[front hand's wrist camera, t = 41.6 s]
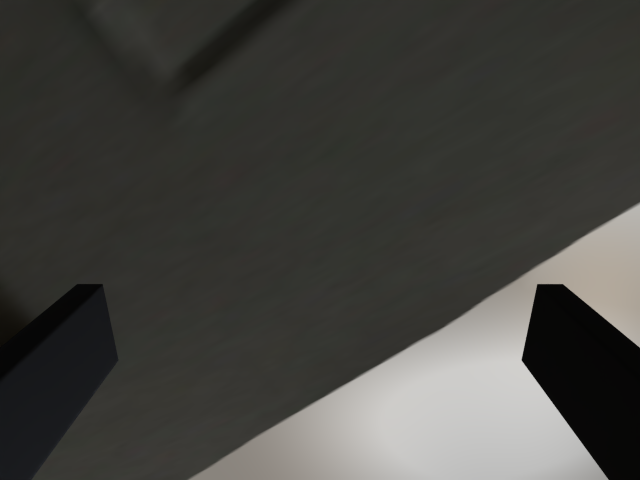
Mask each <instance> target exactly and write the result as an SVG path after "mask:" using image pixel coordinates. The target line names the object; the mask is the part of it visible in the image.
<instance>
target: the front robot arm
mask: <svg viewBox="0 0 640 480" xmlns="http://www.w3.org/2000/svg"><path fill="white" fill-rule="evenodd" d="M117 361H118V356H117V351H116V346H115V342H114V337H113V332H112V327H111V322H110V318H109V313H108V308H107V303H106V298H105V294H104V289H103V284H77V285H76V286H74V287H73V288H72V289H71V290H70V291H68V292H67V293H66V294H65V295H64V296H62V297H61V298H60V299H59V300H58V301H56V302H55V303H54V304H53V305H51V306H50V307H49V308H48V309H47V310H45V311H44V312H43V313H42V314H41V315H39V316H38V317H37V318H36V319H34V320H33V321H32V322H31V323H30V324H28V325H27V326H26V327H25V328H24V329H22V330H21V331H20V332H19V333H18V334H16V335H15V336H14V337H13V338H11V339H10V340H9V341H8V342H7V343H5V344H4V345H3V346H2V347H1V348H0V480H31V479H32V478H33V477H34V475H35V474H36V472H37V471H38V470H39V468H40V467H41V466H42V464H43V463H44V462H45V460H46V459H47V457H48V456H49V455H50V453H51V452H52V451H53V449H54V448H55V446H56V445H57V444H58V442H59V441H60V440H61V438H62V437H63V435H64V434H65V433H66V431H67V430H68V429H69V427H70V426H71V425H72V423H73V422H74V420H75V419H76V418H77V416H78V415H79V414H80V412H81V411H82V409H83V408H84V407H85V405H86V404H87V403H88V401H89V400H90V398H91V397H92V396H93V394H94V393H95V392H96V390H97V389H98V387H99V386H100V385H101V383H102V382H103V381H104V379H105V378H106V377H107V375H108V374H109V372H110V371H111V370H112V368H113V367H114V366H115V364H116V363H117ZM522 361H523V363H524V364H525V366H526V367H527V368H528V370H529V371H530V372H531V374H532V375H533V377H534V378H535V379H536V381H537V382H538V383H539V385H540V386H541V387H542V389H543V390H544V392H545V393H546V394H547V396H548V397H549V398H550V400H551V401H552V402H553V404H554V405H555V407H556V408H557V409H558V411H559V412H560V413H561V415H562V416H563V418H564V419H565V420H566V422H567V423H568V425H569V426H570V427H571V429H572V430H573V431H574V433H575V434H576V435H577V437H578V438H579V440H580V441H581V442H582V444H583V445H584V446H585V448H586V449H587V450H588V452H589V453H590V455H591V456H592V457H593V459H594V460H595V461H596V463H597V464H598V465H599V467H600V468H601V470H602V471H603V472H604V474H605V475H606V477H607V478H608V479H609V480H640V348H639V347H638V346H637V345H636V344H635V343H633V342H632V341H631V340H630V339H629V338H627V337H626V336H625V335H624V334H622V333H621V332H620V331H619V330H618V329H616V328H615V327H614V326H613V325H612V324H610V323H609V322H608V321H607V320H605V319H604V318H603V317H602V316H601V315H599V314H598V313H597V312H596V311H595V310H593V309H592V308H591V307H590V306H589V305H587V304H586V303H585V302H584V301H582V300H581V299H580V298H579V297H578V296H576V295H575V294H574V293H573V292H572V291H570V290H569V289H568V288H567V287H566V286H564V285H563V284H537V289H536V294H535V298H534V303H533V308H532V313H531V318H530V322H529V327H528V332H527V337H526V342H525V346H524V351H523V356H522Z"/></svg>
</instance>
